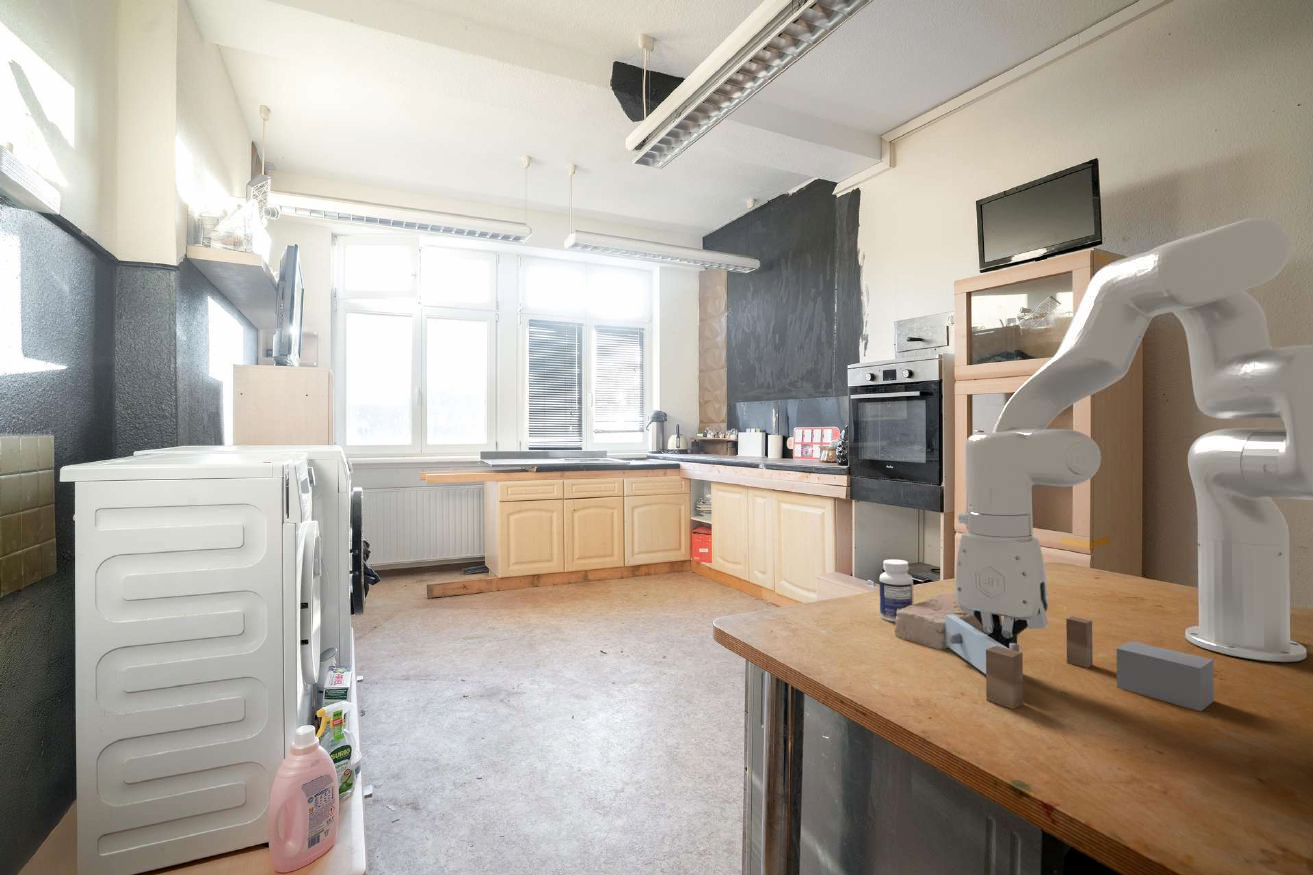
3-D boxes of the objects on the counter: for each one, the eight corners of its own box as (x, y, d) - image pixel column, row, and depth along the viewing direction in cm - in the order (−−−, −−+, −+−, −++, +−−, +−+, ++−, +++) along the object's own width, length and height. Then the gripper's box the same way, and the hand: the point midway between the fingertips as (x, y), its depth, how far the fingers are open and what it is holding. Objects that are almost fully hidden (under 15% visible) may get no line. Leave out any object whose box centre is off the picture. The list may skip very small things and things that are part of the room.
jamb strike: (1072, 659, 85) (1072, 616, 85) (1092, 664, 83) (1092, 620, 83) (1066, 662, 84) (1066, 618, 84) (1086, 667, 82) (1086, 623, 82)
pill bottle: (884, 611, 108) (884, 557, 108) (917, 616, 105) (916, 560, 105) (876, 619, 104) (875, 562, 104) (909, 625, 101) (908, 566, 101)
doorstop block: (1131, 679, 78) (1131, 640, 78) (1213, 702, 71) (1213, 659, 71) (1117, 688, 76) (1116, 648, 75) (1201, 712, 69) (1200, 668, 69)
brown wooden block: (996, 694, 74) (996, 645, 74) (1023, 703, 71) (1022, 652, 71) (986, 699, 73) (985, 649, 73) (1012, 709, 70) (1012, 657, 70)
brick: (944, 652, 89) (944, 620, 89) (892, 637, 96) (891, 607, 96) (995, 629, 99) (995, 600, 99) (945, 617, 106) (944, 590, 106)
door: (1022, 695, 73) (1021, 645, 73) (1002, 696, 73) (1001, 646, 73) (954, 646, 90) (953, 605, 90) (937, 646, 90) (937, 606, 90)
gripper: (930, 523, 85) (934, 654, 85) (1049, 536, 73) (1053, 689, 73) (958, 517, 89) (962, 642, 89) (1075, 528, 77) (1079, 673, 77)
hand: (1003, 663), depth 81 cm, fingers closed
